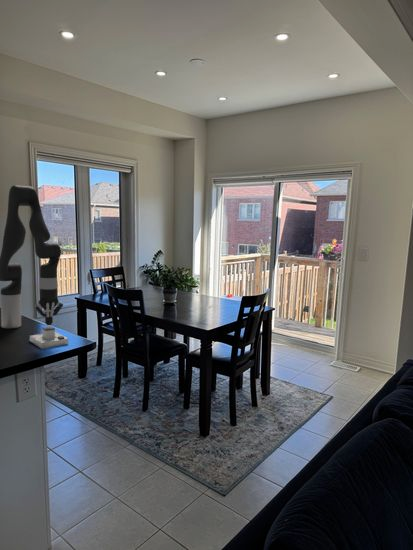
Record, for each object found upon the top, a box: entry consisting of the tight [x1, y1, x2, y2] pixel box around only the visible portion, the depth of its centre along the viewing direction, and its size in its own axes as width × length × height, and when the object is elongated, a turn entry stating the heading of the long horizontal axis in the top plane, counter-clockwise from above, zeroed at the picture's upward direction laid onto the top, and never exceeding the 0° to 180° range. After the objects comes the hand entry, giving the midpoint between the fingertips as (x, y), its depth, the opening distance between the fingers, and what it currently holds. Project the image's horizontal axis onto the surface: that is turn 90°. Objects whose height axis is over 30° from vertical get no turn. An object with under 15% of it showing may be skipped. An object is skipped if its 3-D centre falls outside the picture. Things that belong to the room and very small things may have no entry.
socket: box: [29, 331, 69, 350], centre depth 174 cm, size 14×12×3 cm
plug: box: [42, 325, 56, 340], centre depth 174 cm, size 4×4×7 cm
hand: (48, 324), depth 173 cm, fingers closed
